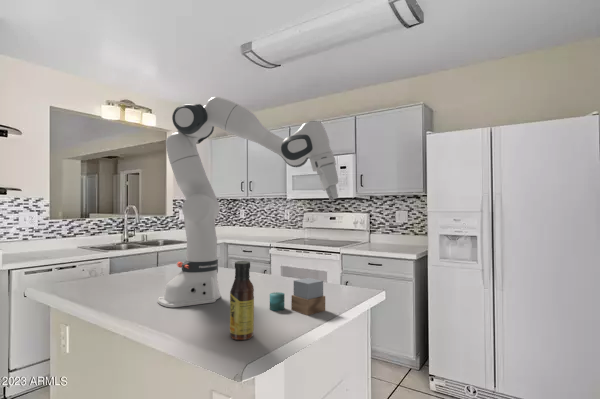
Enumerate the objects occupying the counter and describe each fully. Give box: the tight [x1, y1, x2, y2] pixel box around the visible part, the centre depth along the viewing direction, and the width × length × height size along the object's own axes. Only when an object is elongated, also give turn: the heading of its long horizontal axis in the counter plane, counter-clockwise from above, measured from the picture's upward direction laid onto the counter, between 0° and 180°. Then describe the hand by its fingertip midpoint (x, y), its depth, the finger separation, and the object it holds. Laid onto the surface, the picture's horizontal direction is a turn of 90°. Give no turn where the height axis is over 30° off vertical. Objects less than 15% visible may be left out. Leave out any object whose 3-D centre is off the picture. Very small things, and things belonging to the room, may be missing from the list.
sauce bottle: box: [229, 260, 255, 341], centre depth 94 cm, size 7×6×20 cm
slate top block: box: [293, 277, 324, 300], centre depth 119 cm, size 7×7×5 cm
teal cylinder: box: [269, 291, 285, 312], centre depth 120 cm, size 5×5×5 cm
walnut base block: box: [290, 294, 326, 316], centre depth 119 cm, size 8×8×5 cm
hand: (333, 199), depth 131 cm, fingers open, 8 cm apart
